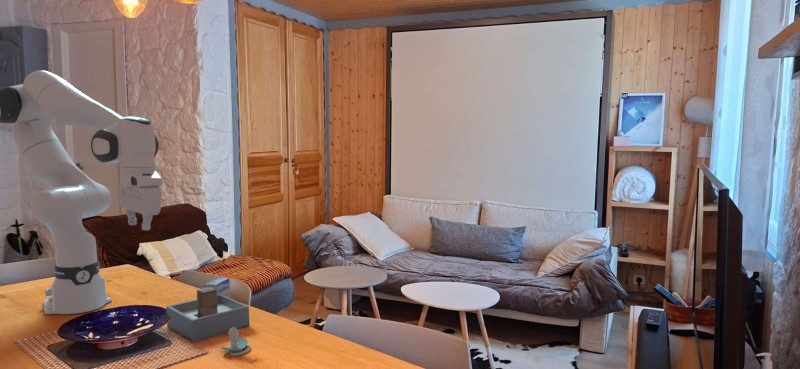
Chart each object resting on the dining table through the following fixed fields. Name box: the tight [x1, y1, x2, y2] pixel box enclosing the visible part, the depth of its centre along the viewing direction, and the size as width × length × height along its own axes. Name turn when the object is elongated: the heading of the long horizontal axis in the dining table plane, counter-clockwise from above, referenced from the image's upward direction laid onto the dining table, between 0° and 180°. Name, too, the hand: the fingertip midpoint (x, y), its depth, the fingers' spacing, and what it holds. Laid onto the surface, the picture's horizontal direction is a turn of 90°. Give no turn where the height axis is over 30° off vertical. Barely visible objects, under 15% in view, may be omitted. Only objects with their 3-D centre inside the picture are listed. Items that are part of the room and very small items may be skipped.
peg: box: [196, 287, 218, 318], centre depth 157 cm, size 4×4×10 cm
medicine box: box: [203, 277, 231, 298], centre depth 174 cm, size 8×4×9 cm, turn 168°
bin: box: [166, 294, 250, 343], centre depth 157 cm, size 17×17×6 cm
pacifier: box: [220, 327, 252, 357], centre depth 140 cm, size 7×6×6 cm
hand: (139, 227), depth 151 cm, fingers open, 8 cm apart
